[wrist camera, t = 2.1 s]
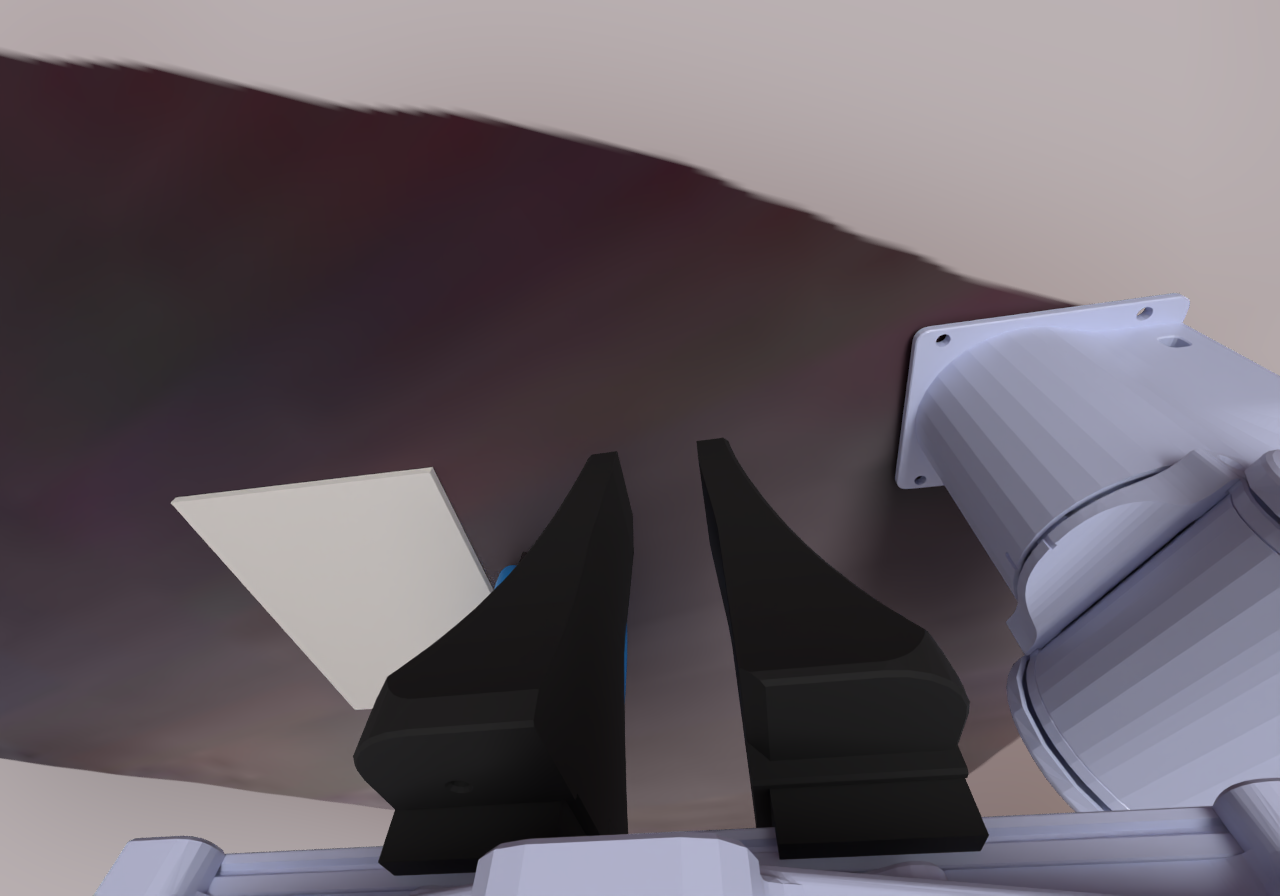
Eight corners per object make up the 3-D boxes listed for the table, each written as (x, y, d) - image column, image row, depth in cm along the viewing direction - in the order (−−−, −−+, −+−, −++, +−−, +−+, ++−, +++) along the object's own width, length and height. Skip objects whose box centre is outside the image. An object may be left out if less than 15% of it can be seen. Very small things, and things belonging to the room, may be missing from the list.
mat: (432, 467, 27) (429, 472, 26) (544, 692, 38) (543, 698, 38) (176, 497, 28) (170, 502, 28) (357, 704, 40) (355, 709, 40)
